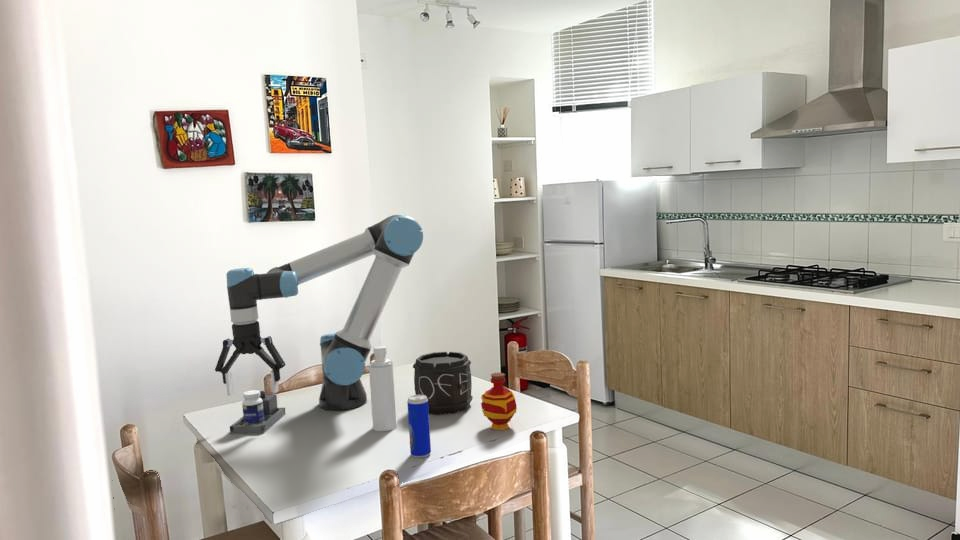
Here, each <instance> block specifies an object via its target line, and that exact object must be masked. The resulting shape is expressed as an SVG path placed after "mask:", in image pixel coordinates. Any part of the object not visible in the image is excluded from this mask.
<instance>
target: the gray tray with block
mask: <svg viewBox="0 0 960 540" xmlns="http://www.w3.org/2000/svg"><path fill="white" fill-rule="evenodd" d="M259 391H260V396H259V397H260V398H261V399H262V400H263V411H264V423H263V424H262V425H244V417H243V416H241V417H240V418H239V419H238V420H237V421H234V423H232V424H231V425H229V434H231V435H232V434H233V435H234V434H235V435H236V434H239V435H240V434H243V435H244V434H265V433H266V432H267V431H268V430H269V429H271V428H272V427H273V426H274V425H275V424H276V423H277V422H279V420H280V419H283V417H284V416H285V415H286V407H278V398H277V394H266V390H259Z"/></svg>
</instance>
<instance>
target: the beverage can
mask: <svg viewBox="0 0 960 540" xmlns="http://www.w3.org/2000/svg"><path fill="white" fill-rule="evenodd" d="M406 402H407V417H408V430H409V436H408V437H409V447H410V449H409V451H410V454H411V456H412V457H413V458H417V459H421V458H422V459H423V458H427V457H428V456H430V454H431V453H432V450H431V449H432V447H431V431H430V430H431V429H430V428H431V427H430V414H429V410H428V399H427V396H426V395H416V394H413V395H409V397H407V401H406Z"/></svg>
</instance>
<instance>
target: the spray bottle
mask: <svg viewBox="0 0 960 540" xmlns="http://www.w3.org/2000/svg"><path fill="white" fill-rule="evenodd" d="M373 355H374V359H372V360H371V361H370V362H369V363H368V369H369V371H368V372H369V384H370V385H369V387H370V403H371V405H370V406H371V417H372V420H371V421H372V429H373V430H374V431H376V432H389V431H393V430H394V429H396V428H397V412H396V400H395V399H396V395H395V381H394V379H395V378H394V367H393V365H394V364H393V361H391V360H390V359H389V358H387V357H386V355H387V346H385V345H378V346H374V347H373Z"/></svg>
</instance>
